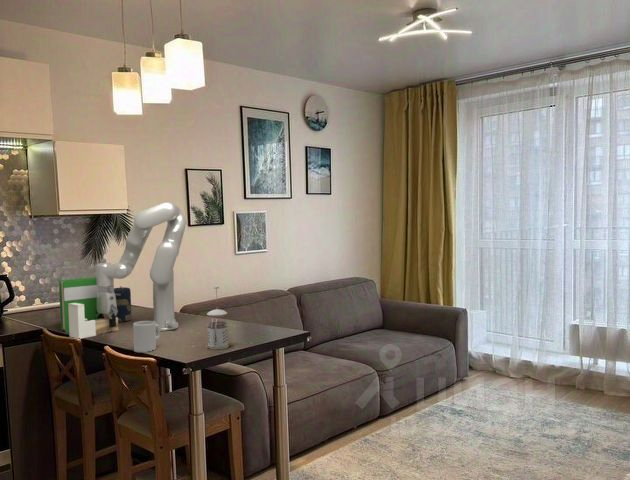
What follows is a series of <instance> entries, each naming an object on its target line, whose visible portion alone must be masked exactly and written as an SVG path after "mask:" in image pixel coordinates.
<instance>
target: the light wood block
mask: <svg viewBox="0 0 630 480" xmlns="http://www.w3.org/2000/svg"><path fill="white" fill-rule="evenodd" d="M109 319H110V318H109V317H104V318H103V319H98V320H95V327H96V336H97V335H101V333H102V334H106V332H107V333H112V332H116V330H117V331H119V322H118V318H117V317H116V327H111V328H110V327H109ZM85 321H88V320H85ZM111 331H112V332H111Z"/></svg>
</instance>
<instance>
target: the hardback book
mask: <svg viewBox="0 0 630 480" xmlns="http://www.w3.org/2000/svg"><path fill="white" fill-rule="evenodd" d="M58 290H59V291H58V292H59V313H60V314H59V315H60V317H59V318H60V319H59V320H60V331H61V332H63V331H64V333H65V334H67V333H69V310H68V304H70V303H79V304H84V314H85V319H87V320H88V321H91V320H97V314H96V310H95V306H97V282H96V276H95V277H83V278H73V279H72V278H71V279H60V280H58Z"/></svg>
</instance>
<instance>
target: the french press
mask: <svg viewBox="0 0 630 480" xmlns="http://www.w3.org/2000/svg"><path fill="white" fill-rule="evenodd" d="M213 289H215V295H216V296H215V297H216V300H218V289H220V287H219V285H214V287H213ZM225 315H228V312H227V311H225V310H222V309H218V308H215V309H211V310H210V311H208V312H207V313H206V316H209V317H216V321H215V320H214V318H212V319H211V322H208V327H207V344H208V346H210V347H220V346H225V345H227V344H228V342H229V341H228V340H229V339H228V338H229V337H228V326H227V325H226V324H227V321H218V319H219V317H221V316H225Z"/></svg>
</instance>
